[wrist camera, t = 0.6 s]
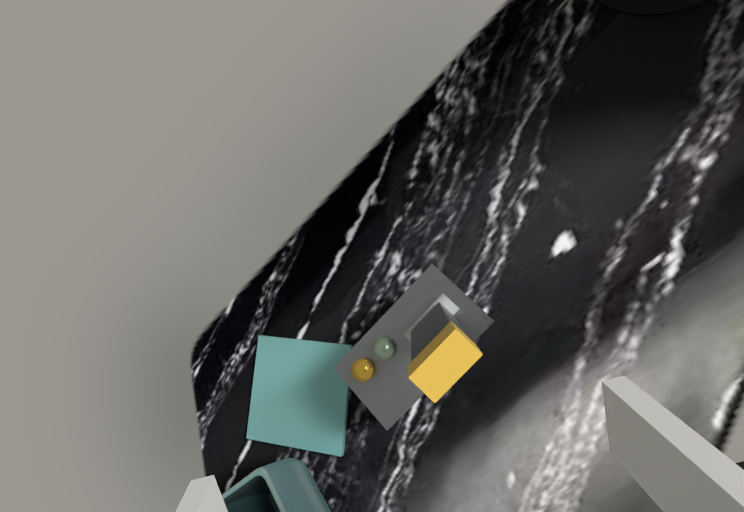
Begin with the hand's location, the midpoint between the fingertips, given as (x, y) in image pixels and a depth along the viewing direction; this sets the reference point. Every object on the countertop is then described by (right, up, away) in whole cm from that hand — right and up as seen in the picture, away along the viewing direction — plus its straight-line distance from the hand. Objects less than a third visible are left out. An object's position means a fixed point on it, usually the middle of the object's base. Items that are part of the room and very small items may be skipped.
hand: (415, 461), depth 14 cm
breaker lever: (+3, +2, +15) cm, 16 cm away
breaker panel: (+4, -1, +24) cm, 25 cm away
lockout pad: (-8, -6, +27) cm, 29 cm away
